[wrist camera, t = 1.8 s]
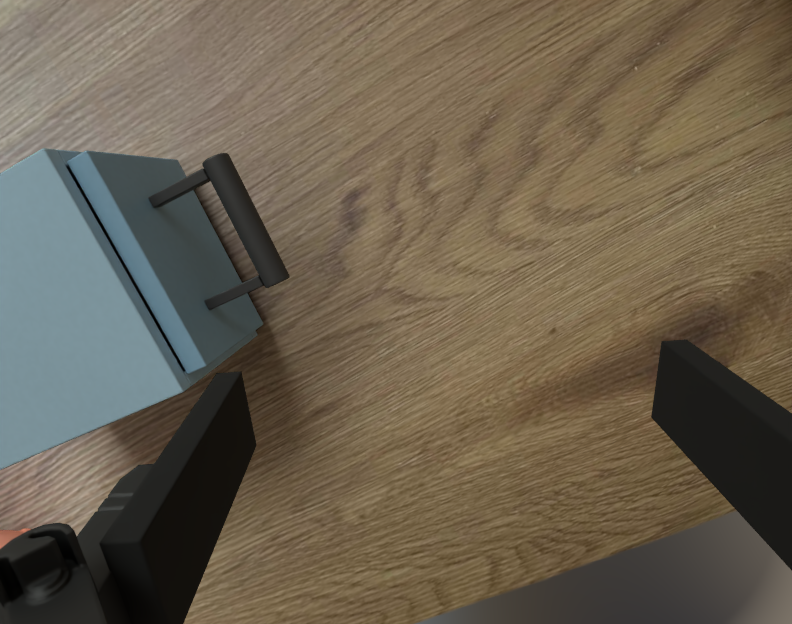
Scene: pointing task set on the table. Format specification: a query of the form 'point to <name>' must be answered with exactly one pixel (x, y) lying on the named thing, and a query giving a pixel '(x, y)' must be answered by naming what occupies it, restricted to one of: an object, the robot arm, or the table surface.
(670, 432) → the robot arm
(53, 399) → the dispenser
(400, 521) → the table surface
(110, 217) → the dispenser tray
